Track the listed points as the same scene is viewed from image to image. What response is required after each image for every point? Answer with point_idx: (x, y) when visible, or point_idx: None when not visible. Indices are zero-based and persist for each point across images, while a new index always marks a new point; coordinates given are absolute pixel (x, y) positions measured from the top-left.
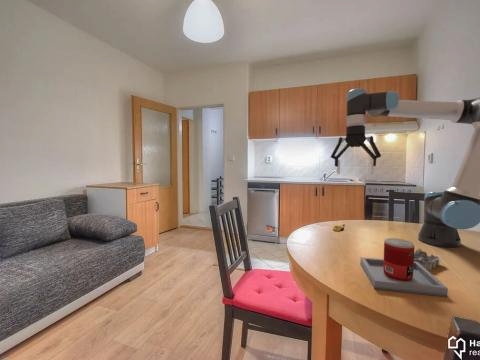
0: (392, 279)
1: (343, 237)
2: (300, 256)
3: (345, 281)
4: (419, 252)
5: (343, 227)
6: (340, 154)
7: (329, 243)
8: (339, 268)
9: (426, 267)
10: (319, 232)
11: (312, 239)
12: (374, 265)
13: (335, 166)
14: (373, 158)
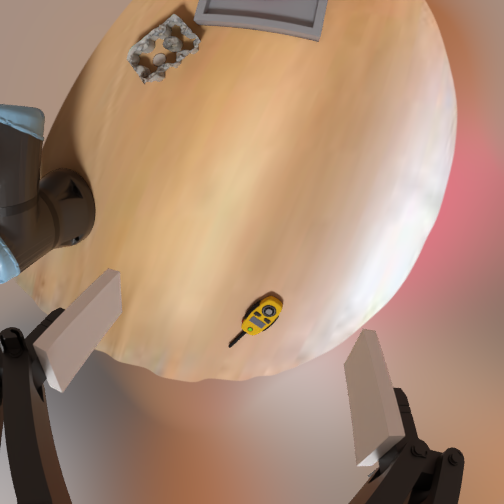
0: None
1: (278, 240)
2: (443, 102)
3: None
4: (152, 75)
5: (246, 315)
6: (389, 489)
7: (344, 187)
8: (375, 27)
9: (179, 24)
10: (331, 288)
11: (378, 225)
12: (294, 20)
13: (396, 393)
14: (32, 358)
